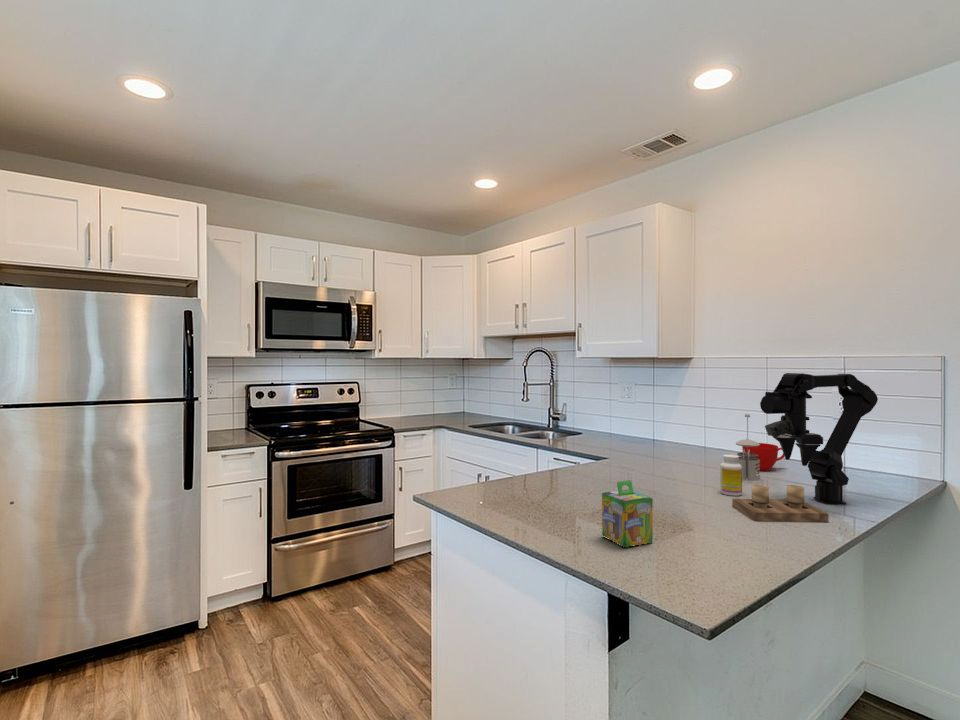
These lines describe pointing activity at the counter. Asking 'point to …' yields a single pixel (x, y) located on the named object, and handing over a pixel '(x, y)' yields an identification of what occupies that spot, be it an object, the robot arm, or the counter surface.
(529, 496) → the counter surface
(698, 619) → the counter surface
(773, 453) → the ceramic cup
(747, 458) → the french press
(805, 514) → the brown block with openings
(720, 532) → the counter surface
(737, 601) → the counter surface
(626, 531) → the chalk box
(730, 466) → the supplement bottle
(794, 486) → the oak leg
